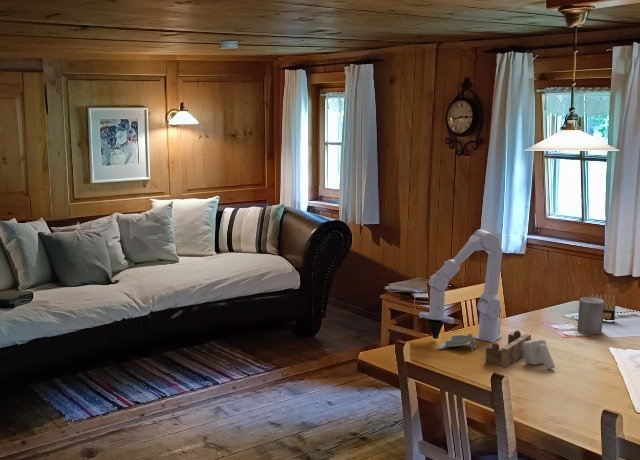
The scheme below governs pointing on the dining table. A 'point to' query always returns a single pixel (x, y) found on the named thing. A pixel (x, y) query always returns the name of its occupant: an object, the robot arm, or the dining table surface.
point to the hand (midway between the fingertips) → (435, 338)
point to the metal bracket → (459, 341)
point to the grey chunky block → (537, 353)
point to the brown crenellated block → (507, 350)
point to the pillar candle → (590, 315)
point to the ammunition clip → (608, 307)
